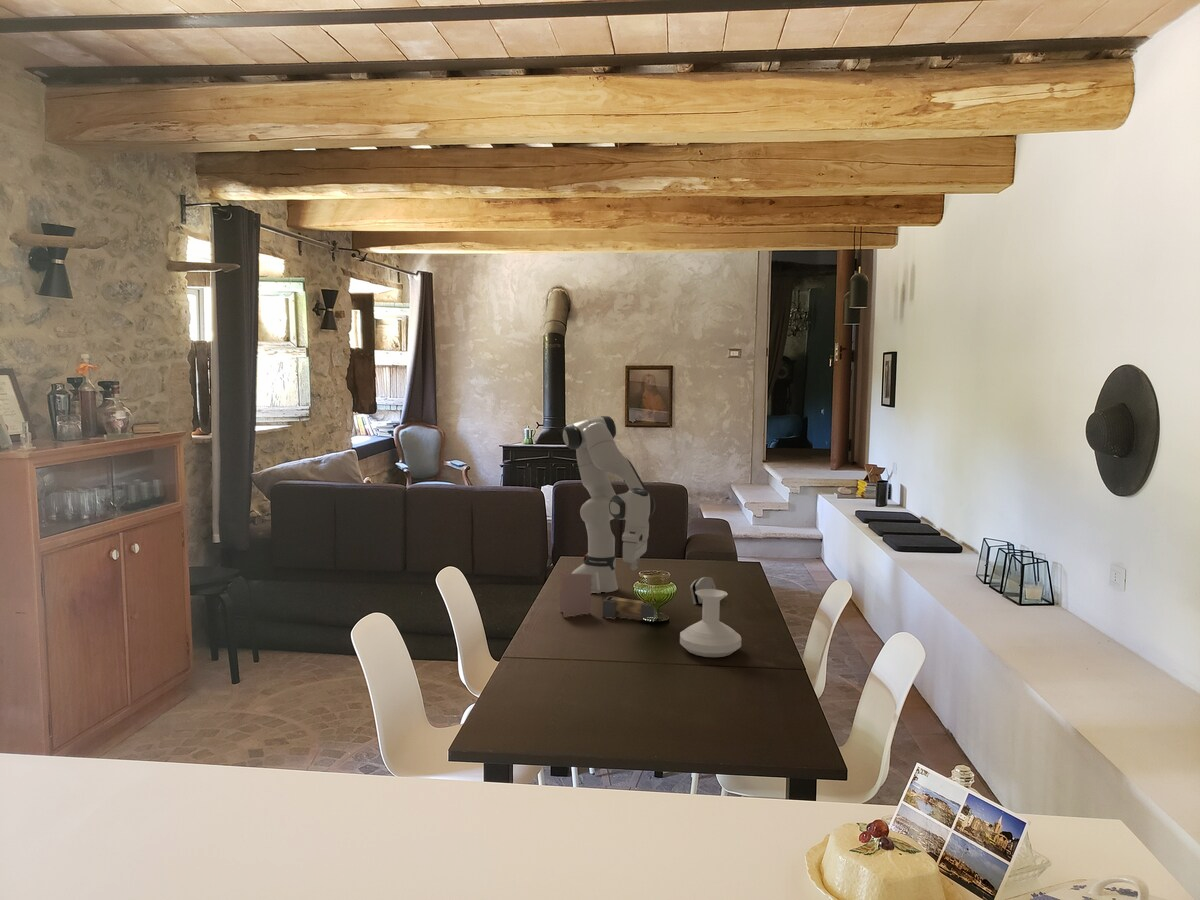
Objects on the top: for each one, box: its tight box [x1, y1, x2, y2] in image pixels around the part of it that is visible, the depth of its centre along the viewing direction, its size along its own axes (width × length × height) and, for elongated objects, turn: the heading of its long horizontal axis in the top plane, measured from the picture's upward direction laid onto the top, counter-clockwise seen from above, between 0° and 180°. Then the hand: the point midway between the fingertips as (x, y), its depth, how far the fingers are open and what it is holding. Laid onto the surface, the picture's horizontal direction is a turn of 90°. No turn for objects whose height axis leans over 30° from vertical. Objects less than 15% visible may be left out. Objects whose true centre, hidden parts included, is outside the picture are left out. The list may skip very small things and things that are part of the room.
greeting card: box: [559, 572, 592, 617], centre depth 303 cm, size 11×7×15 cm, turn 84°
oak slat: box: [610, 596, 648, 615], centre depth 301 cm, size 15×4×4 cm, turn 67°
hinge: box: [689, 576, 718, 605], centre depth 327 cm, size 17×5×10 cm, turn 149°
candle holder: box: [679, 588, 742, 658], centre depth 265 cm, size 20×20×19 cm
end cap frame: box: [602, 595, 656, 620], centre depth 301 cm, size 19×7×6 cm, turn 71°
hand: (634, 569), depth 305 cm, fingers closed
